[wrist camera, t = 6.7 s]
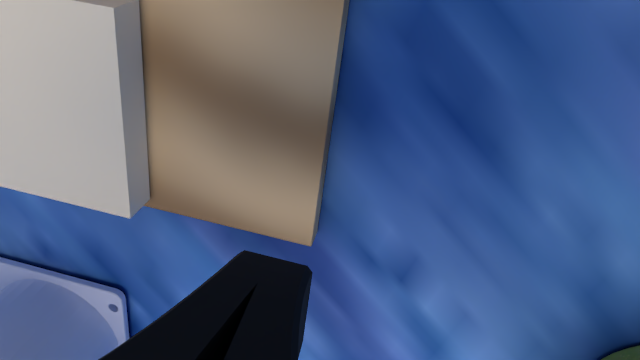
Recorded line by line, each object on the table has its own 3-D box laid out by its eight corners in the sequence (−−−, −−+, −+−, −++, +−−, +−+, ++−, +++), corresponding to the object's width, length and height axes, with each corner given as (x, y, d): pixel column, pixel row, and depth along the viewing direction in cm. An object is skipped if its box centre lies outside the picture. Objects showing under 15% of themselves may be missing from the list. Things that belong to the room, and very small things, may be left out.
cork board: (317, 232, 22) (310, 246, 21) (-3, 155, 24) (-20, 165, 24) (362, -90, 16) (356, -89, 15) (-71, -155, 18) (-97, -156, 17)
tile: (130, 218, 21) (-18, 181, 22) (151, 197, 22) (11, 163, 23) (113, 8, 17) (-68, -27, 18) (140, -3, 18) (-29, -34, 19)
